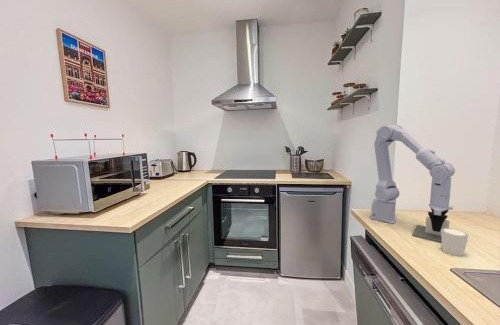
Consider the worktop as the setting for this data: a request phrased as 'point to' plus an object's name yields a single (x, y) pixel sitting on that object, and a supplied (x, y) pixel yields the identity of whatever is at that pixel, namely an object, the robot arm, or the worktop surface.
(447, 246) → the white short cylinder
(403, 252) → the worktop surface
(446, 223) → the tile
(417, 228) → the plate
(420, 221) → the worktop surface
